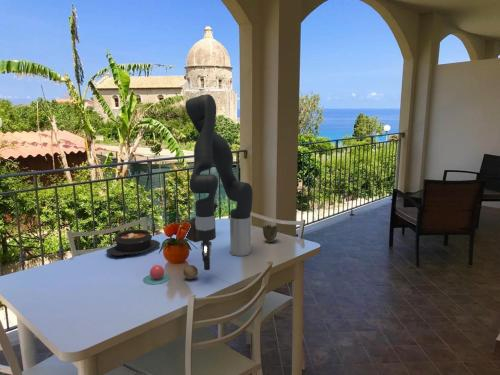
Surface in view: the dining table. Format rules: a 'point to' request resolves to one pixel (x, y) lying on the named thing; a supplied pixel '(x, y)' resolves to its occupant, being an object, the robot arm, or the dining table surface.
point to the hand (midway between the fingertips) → (207, 269)
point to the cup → (270, 233)
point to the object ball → (157, 272)
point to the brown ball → (190, 272)
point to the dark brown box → (192, 231)
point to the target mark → (152, 281)
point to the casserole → (132, 243)
